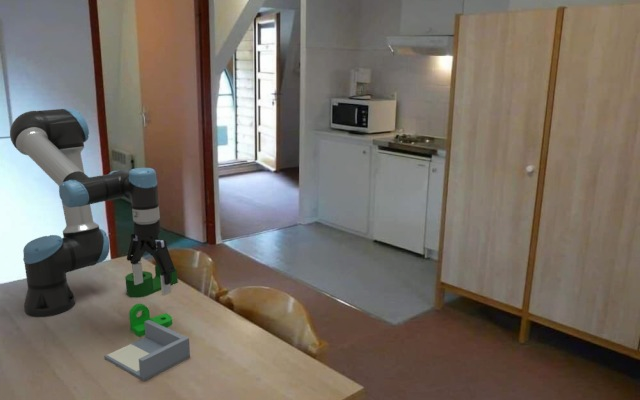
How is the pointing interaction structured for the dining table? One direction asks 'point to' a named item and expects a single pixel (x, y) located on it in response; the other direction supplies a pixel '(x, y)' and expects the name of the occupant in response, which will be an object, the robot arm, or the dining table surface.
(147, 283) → the slotted cylinder bracket
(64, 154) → the robot arm
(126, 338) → the dining table surface
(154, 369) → the corner arena
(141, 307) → the mechanical part
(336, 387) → the dining table surface
